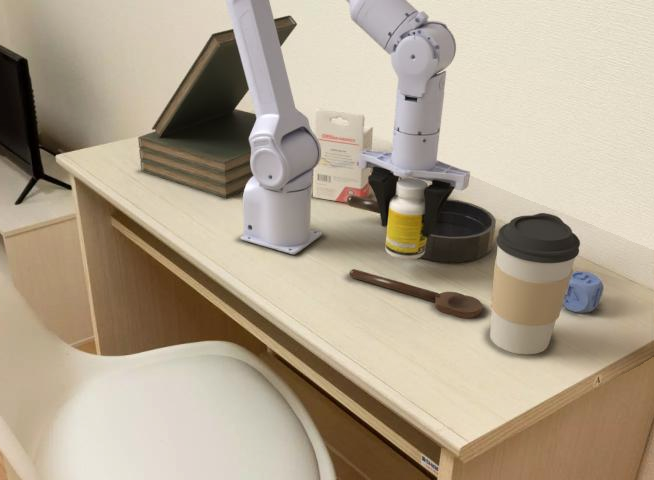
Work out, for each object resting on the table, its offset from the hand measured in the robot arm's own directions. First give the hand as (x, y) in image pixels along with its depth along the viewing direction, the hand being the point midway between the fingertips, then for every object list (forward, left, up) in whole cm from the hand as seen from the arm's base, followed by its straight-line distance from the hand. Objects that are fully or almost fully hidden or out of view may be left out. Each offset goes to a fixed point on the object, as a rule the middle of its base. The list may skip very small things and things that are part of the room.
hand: (407, 228), depth 106 cm
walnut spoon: (+4, -5, -7) cm, 9 cm away
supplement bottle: (0, 0, -4) cm, 4 cm away
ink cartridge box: (-20, +19, -7) cm, 28 cm away
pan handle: (-11, +12, -4) cm, 17 cm away
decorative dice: (+23, +4, -7) cm, 24 cm away
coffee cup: (+19, -8, -7) cm, 22 cm away
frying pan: (+1, +12, -7) cm, 14 cm away
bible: (-44, +20, -7) cm, 49 cm away
